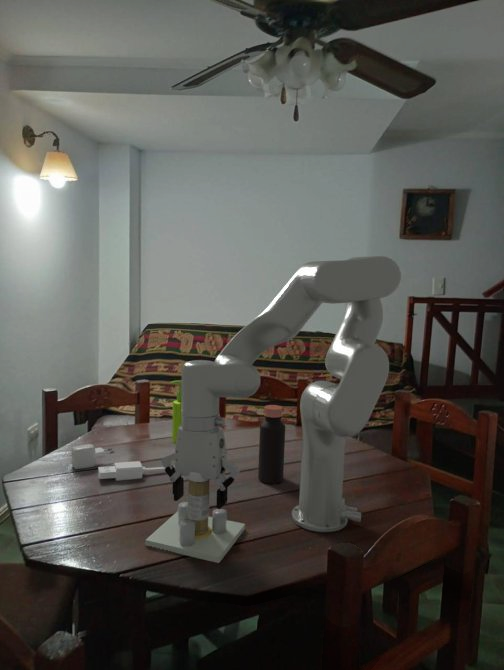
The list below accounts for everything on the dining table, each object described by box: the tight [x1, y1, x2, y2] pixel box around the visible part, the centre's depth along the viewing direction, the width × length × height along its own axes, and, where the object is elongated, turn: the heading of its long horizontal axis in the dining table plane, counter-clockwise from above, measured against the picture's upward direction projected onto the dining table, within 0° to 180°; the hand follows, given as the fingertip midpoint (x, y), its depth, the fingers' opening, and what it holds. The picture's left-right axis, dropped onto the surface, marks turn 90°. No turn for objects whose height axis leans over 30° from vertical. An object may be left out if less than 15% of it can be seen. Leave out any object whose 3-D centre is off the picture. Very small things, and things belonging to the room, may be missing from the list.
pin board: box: [145, 501, 246, 564], centre depth 104 cm, size 16×14×5 cm
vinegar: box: [257, 404, 286, 485], centre depth 134 cm, size 7×7×20 cm
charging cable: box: [97, 460, 175, 482], centre depth 137 cm, size 5×32×3 cm, turn 112°
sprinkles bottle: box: [187, 472, 211, 535], centre depth 103 cm, size 5×5×14 cm
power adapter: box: [71, 443, 115, 470], centre depth 141 cm, size 11×5×6 cm, turn 121°
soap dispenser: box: [169, 379, 182, 444], centre depth 163 cm, size 6×7×20 cm
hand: (199, 502), depth 103 cm, fingers open, 9 cm apart
